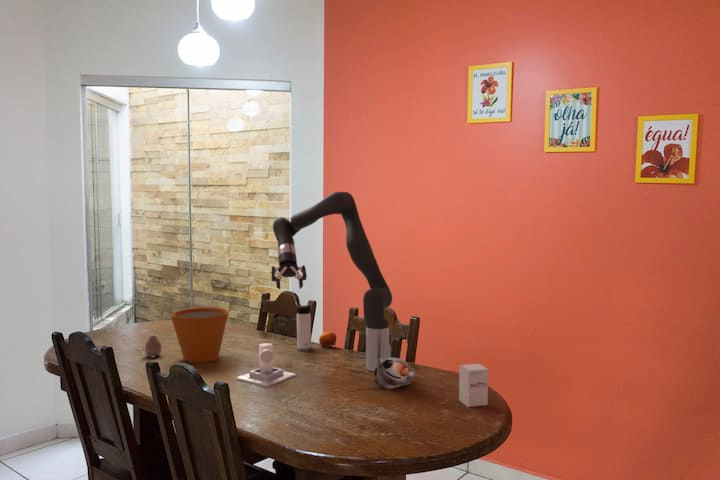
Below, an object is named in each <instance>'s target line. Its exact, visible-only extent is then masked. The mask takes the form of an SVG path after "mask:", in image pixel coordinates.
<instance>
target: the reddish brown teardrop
mask: <svg viewBox="0 0 720 480" xmlns="http://www.w3.org/2000/svg"><path fill="white" fill-rule="evenodd" d="M162 349H163V346H162V343H161V342H160V340H159V339H158V338H157V336H155V335H152V336H149V339H148V340H147V341H146V343H145V346H144V352H145V355H146V356H147V357H148V356H151V357H150V358H153V357H152V356H158V355H159V356H160V355H161V353H162ZM159 356H158V357H159Z"/></svg>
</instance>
